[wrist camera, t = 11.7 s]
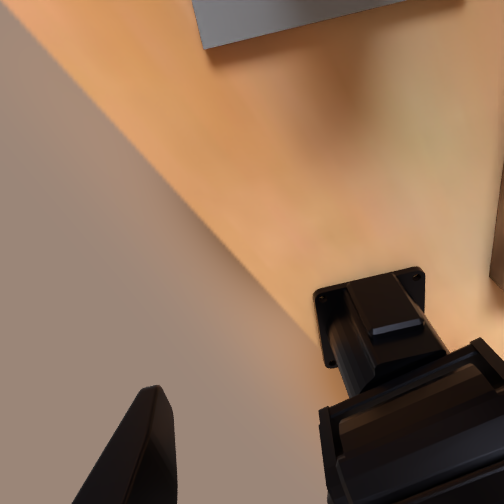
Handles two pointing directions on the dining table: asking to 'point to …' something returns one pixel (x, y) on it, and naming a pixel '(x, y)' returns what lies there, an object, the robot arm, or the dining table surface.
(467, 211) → the dining table surface
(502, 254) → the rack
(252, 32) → the mat
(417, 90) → the dining table surface
